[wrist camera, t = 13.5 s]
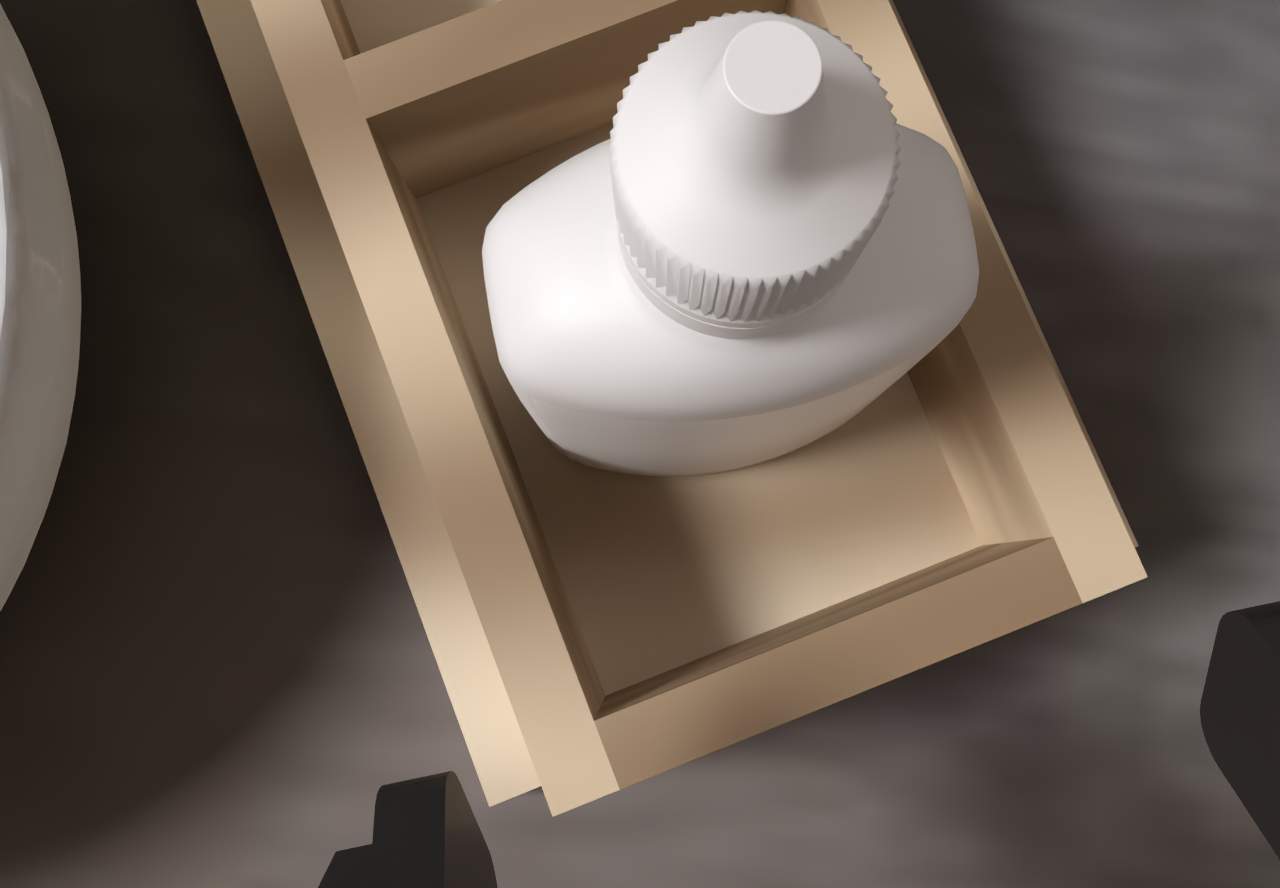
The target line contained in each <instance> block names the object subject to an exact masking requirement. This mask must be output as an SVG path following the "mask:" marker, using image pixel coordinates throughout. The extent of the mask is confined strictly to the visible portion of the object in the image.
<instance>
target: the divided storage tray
mask: <svg viewBox="0 0 1280 888" xmlns="http://www.w3.org/2000/svg"><path fill="white" fill-rule="evenodd" d="M196 1H197V4H198V6H199V9H200V12H201V15H202V17H203V20H204V23H205V26H206V28H207V31H208V34H209V37H210V39H211V42H212V45H213V48H214V50H215V53H216V56H217V59H218V61H219V64H220V67H221V70H222V72H223V75H224V78H225V81H226V83H227V86H228V89H229V92H230V94H231V97H232V100H233V103H234V105H235V108H236V111H237V114H238V116H239V119H240V122H241V125H242V127H243V130H244V133H245V136H246V138H247V141H248V144H249V147H250V149H251V152H252V155H253V158H254V160H255V163H256V166H257V169H258V171H259V174H260V177H261V180H262V182H263V185H264V188H265V191H266V193H267V196H268V199H269V202H270V204H271V207H272V210H273V213H274V215H275V218H276V221H277V224H278V226H279V229H280V232H281V235H282V237H283V240H284V243H285V246H286V248H287V251H288V254H289V257H290V259H291V262H292V265H293V268H294V270H295V273H296V276H297V279H298V281H299V284H300V287H301V290H302V292H303V295H304V298H305V301H306V303H307V306H308V309H309V312H310V314H311V317H312V320H313V323H314V325H315V328H316V331H317V334H318V336H319V339H320V342H321V345H322V347H323V350H324V353H325V356H326V358H327V361H328V364H329V367H330V369H331V372H332V375H333V378H334V380H335V383H336V386H337V389H338V391H339V394H340V397H341V400H342V402H343V405H344V408H345V411H346V413H347V416H348V419H349V422H350V424H351V427H352V430H353V433H354V435H355V438H356V441H357V444H358V446H359V449H360V452H361V455H362V458H363V460H364V463H365V466H366V469H367V471H368V474H369V477H370V480H371V482H372V485H373V488H374V491H375V493H376V496H377V499H378V502H379V504H380V507H381V510H382V513H383V515H384V518H385V521H386V524H387V526H388V529H389V532H390V535H391V537H392V540H393V543H394V546H395V548H396V551H397V554H398V557H399V559H400V562H401V565H402V568H403V570H404V573H405V576H406V579H407V581H408V584H409V587H410V590H411V592H412V595H413V598H414V601H415V603H416V606H417V609H418V612H419V614H420V617H421V620H422V623H423V625H424V628H425V631H426V634H427V636H428V639H429V642H430V645H431V647H432V650H433V653H434V656H435V658H436V661H437V664H438V667H439V669H440V672H441V675H442V678H443V680H444V683H445V686H446V689H447V691H448V694H449V697H450V700H451V702H452V705H453V708H454V711H455V713H456V716H457V719H458V722H459V724H460V727H461V730H462V733H463V735H464V738H465V741H466V744H467V746H468V749H469V752H470V755H471V757H472V760H473V763H474V766H475V768H476V771H477V774H478V777H479V779H480V782H481V785H482V788H483V790H484V793H485V796H486V799H487V801H488V804H489V807H490V806H493V805H495V804H498V803H500V802H503V801H505V800H508V799H510V798H513V797H515V796H518V795H520V794H523V793H525V792H528V791H530V790H533V789H535V788H538V787H540V786H542V789H543V792H544V795H545V797H546V800H547V803H548V805H549V808H550V811H551V814H552V816H556V815H558V814H561V813H563V812H566V811H568V810H571V809H573V808H576V807H578V806H581V805H583V804H586V803H588V802H591V801H593V800H595V799H598V798H600V797H603V796H605V795H608V794H610V793H613V792H615V791H618V790H620V789H623V788H625V787H628V786H630V785H633V784H635V783H638V782H640V781H643V780H645V779H648V778H650V777H653V776H655V775H658V774H660V773H663V772H665V771H668V770H670V769H672V768H675V767H677V766H680V765H682V764H685V763H687V762H690V761H692V760H695V759H697V758H700V757H702V756H705V755H707V754H710V753H712V752H715V751H717V750H720V749H722V748H725V747H727V746H730V745H732V744H735V743H737V742H740V741H742V740H744V739H747V738H749V737H752V736H754V735H757V734H759V733H762V732H764V731H767V730H769V729H772V728H774V727H777V726H779V725H782V724H784V723H787V722H789V721H792V720H794V719H797V718H799V717H802V716H804V715H807V714H809V713H812V712H814V711H817V710H819V709H821V708H824V707H826V706H829V705H831V704H834V703H836V702H839V701H841V700H844V699H846V698H849V697H851V696H854V695H856V694H859V693H861V692H864V691H866V690H869V689H871V688H874V687H876V686H879V685H881V684H884V683H886V682H889V681H891V680H894V679H896V678H898V677H901V676H903V675H906V674H908V673H911V672H913V671H916V670H918V669H921V668H923V667H926V666H928V665H931V664H933V663H936V662H938V661H941V660H943V659H946V658H948V657H951V656H953V655H956V654H958V653H961V652H963V651H966V650H968V649H971V648H973V647H975V646H978V645H980V644H983V643H985V642H988V641H990V640H993V639H995V638H998V637H1000V636H1003V635H1005V634H1008V633H1010V632H1013V631H1015V630H1018V629H1020V628H1023V627H1025V626H1028V625H1030V624H1033V623H1035V622H1038V621H1040V620H1043V619H1045V618H1047V617H1050V616H1052V615H1055V614H1057V613H1060V612H1062V611H1065V610H1067V609H1070V608H1072V607H1075V606H1077V605H1080V604H1082V603H1085V602H1087V601H1090V600H1092V599H1095V598H1097V597H1100V596H1102V595H1105V594H1107V593H1110V592H1112V591H1115V590H1117V589H1120V588H1122V587H1124V586H1127V585H1129V584H1132V583H1134V582H1137V581H1139V580H1142V579H1144V578H1147V577H1148V576H1147V574H1146V572H1145V570H1144V567H1143V565H1142V563H1141V561H1140V559H1139V556H1138V554H1137V552H1136V550H1135V547H1138V543H1137V541H1136V539H1135V537H1134V535H1133V532H1132V530H1131V528H1130V526H1129V524H1128V521H1127V519H1126V517H1125V515H1124V512H1123V510H1122V508H1121V506H1120V504H1119V501H1118V499H1117V497H1116V495H1115V492H1114V490H1113V488H1112V486H1111V484H1110V481H1109V479H1108V477H1107V475H1106V472H1105V470H1104V468H1103V466H1102V464H1101V461H1100V459H1099V457H1098V455H1097V452H1096V450H1095V448H1094V446H1093V444H1092V441H1091V439H1090V437H1089V435H1088V433H1087V430H1086V428H1085V426H1084V424H1083V421H1082V419H1081V417H1080V415H1079V413H1078V410H1077V408H1076V406H1075V404H1074V401H1073V399H1072V397H1071V395H1070V393H1069V390H1068V388H1067V386H1066V384H1065V381H1064V379H1063V377H1062V375H1061V373H1060V370H1059V368H1058V366H1057V364H1056V361H1055V359H1054V357H1053V355H1052V353H1051V350H1050V348H1049V346H1048V344H1047V342H1046V339H1045V337H1044V335H1043V333H1042V330H1041V328H1040V326H1039V324H1038V322H1037V319H1036V317H1035V315H1034V313H1033V310H1032V308H1031V306H1030V304H1029V302H1028V299H1027V297H1026V295H1025V293H1024V290H1023V288H1022V286H1021V284H1020V282H1019V279H1018V277H1017V275H1016V273H1015V270H1014V268H1013V266H1012V264H1011V262H1010V259H1009V257H1008V255H1007V253H1006V251H1005V248H1004V246H1003V244H1002V242H1001V239H1000V237H999V235H998V233H997V231H996V228H995V226H994V224H993V222H992V219H991V217H990V215H989V213H988V211H987V208H986V206H985V204H984V202H983V199H982V197H981V195H980V193H979V191H978V188H977V186H976V184H975V182H974V179H973V177H972V175H971V173H970V171H969V168H968V166H967V164H966V162H965V160H964V157H963V155H962V153H961V151H960V148H959V146H958V144H957V142H956V140H955V137H954V135H953V133H952V131H951V128H950V126H949V124H948V122H947V120H946V117H945V115H944V113H943V111H942V108H941V106H940V104H939V102H938V100H937V97H936V95H935V93H934V91H933V88H932V86H931V84H930V82H929V80H928V77H927V75H926V73H925V71H924V69H923V66H922V64H921V62H920V60H919V57H918V55H917V53H916V51H915V49H914V46H913V44H912V42H911V40H910V37H909V35H908V33H907V31H906V29H905V26H904V24H903V22H902V20H901V17H900V15H899V13H898V11H897V9H896V6H895V4H894V2H893V0H196ZM754 10H757V11H759V12H762V13H765V12H768V11H772V12H774V13H775V14H777V15H778V14H783V13H786V14H787V15H789V16H790V17H800V18H802V19H803V20H804V21H805V22H814V23H815V24H816V25H817V27H819V28H827V29H828V31H829V32H830V34H832V35H836V36H840V38H841V40H842V42H843V43H846V44H849V45H852V49H853V52H855V53H858V54H860V55H862V56H863V62H864V63H866V64H868V65H870V66H872V74H874V75H875V76H877V77H878V78H880V79H881V80H880V83H879V85H880V86H881V87H882V88H883V89H885V90H886V91H887V92H888V93H887V95H886V97H885V98H886V99H887V100H888V101H889V102H890V103H891V104H892V105H893V108H892V110H891V113H892V114H893V115H894V116H895V117H896V118H897V122H896V123H897V124H900V125H902V126H905V127H908V128H910V129H913V130H915V131H918V132H921V133H923V134H926V135H927V136H928V137H930V138H931V139H933V140H934V141H936V142H937V143H939V144H940V145H942V146H943V147H945V148H946V150H947V151H948V153H949V155H950V156H951V158H952V159H953V161H954V163H955V164H956V166H957V168H958V171H959V174H960V177H961V181H962V184H963V187H964V191H965V195H966V199H967V203H968V208H969V212H970V217H971V222H972V227H973V232H974V237H975V242H976V249H977V257H978V265H979V278H978V286H977V294H976V298H975V300H974V302H973V304H972V305H971V307H970V308H969V310H968V311H967V313H966V314H965V315H964V317H963V318H962V320H961V321H960V322H959V324H958V325H957V326H956V327H955V328H954V329H953V330H952V331H951V332H950V333H949V334H948V335H947V336H946V337H945V338H944V339H943V340H942V341H941V342H940V343H939V344H938V345H937V346H936V347H935V348H934V349H933V350H931V351H930V352H929V353H928V354H927V355H926V356H925V357H923V358H922V359H921V360H920V361H919V362H918V363H917V364H915V365H914V366H913V367H912V368H911V369H910V370H909V371H907V372H906V373H905V374H904V375H903V376H902V377H901V378H899V379H898V380H897V381H896V382H895V383H893V384H892V385H891V386H890V387H889V388H888V389H886V390H885V391H884V392H883V393H882V394H881V395H879V396H878V397H877V398H876V399H875V400H874V401H872V402H871V403H870V404H869V405H868V406H866V407H865V408H864V409H863V410H862V411H860V412H859V413H858V414H856V415H855V416H854V417H852V418H851V419H850V420H848V421H847V422H846V423H844V424H843V425H841V426H839V427H838V428H836V429H835V430H833V431H831V432H830V433H828V434H826V435H824V436H822V437H821V438H819V439H817V440H815V441H813V442H811V443H809V444H807V445H805V446H803V447H800V448H798V449H796V450H794V451H792V452H789V453H786V454H784V455H781V456H779V457H776V458H773V459H770V460H767V461H764V462H761V463H758V464H755V465H751V466H747V467H743V468H739V469H734V470H729V471H724V472H719V473H712V474H704V475H693V476H645V475H634V474H626V473H619V472H613V471H607V470H603V469H598V468H594V467H589V466H586V465H583V464H580V463H577V462H573V461H571V460H570V459H569V458H567V457H566V456H564V455H563V454H561V453H560V452H558V451H557V450H556V448H555V447H554V446H553V445H552V443H551V442H550V441H549V439H548V438H547V437H546V435H545V434H544V433H543V431H542V430H541V429H540V427H539V426H538V425H537V423H536V422H535V420H534V419H533V418H532V416H531V415H530V413H529V412H528V411H527V409H526V408H525V406H524V405H523V404H522V402H521V401H520V399H519V397H518V396H517V394H516V392H515V391H514V389H513V387H512V385H511V384H510V382H509V380H508V378H507V376H506V374H505V372H504V370H503V368H502V366H501V364H500V362H499V357H498V353H497V348H496V343H495V339H494V334H493V330H492V324H491V318H490V312H489V306H488V299H487V293H486V286H485V279H484V269H483V258H482V248H483V242H484V237H485V231H486V227H487V226H488V224H489V223H490V222H491V220H492V219H493V218H494V216H495V215H496V214H497V212H498V211H499V210H500V208H501V207H502V206H503V205H504V204H505V203H506V202H507V201H509V200H510V199H511V198H512V197H513V196H515V195H516V194H517V193H518V192H520V191H521V190H522V189H523V188H525V187H526V186H528V185H529V184H531V183H532V182H534V181H535V180H537V179H538V178H540V177H541V176H543V175H544V174H546V173H547V172H548V171H550V170H552V169H553V168H555V167H557V166H558V165H560V164H562V163H563V162H565V161H567V160H568V159H570V158H572V157H573V156H575V155H577V154H579V153H581V152H583V151H585V150H587V149H589V148H591V147H593V146H595V145H597V144H599V143H602V142H604V141H606V140H608V139H611V137H610V131H611V130H612V129H613V128H614V126H613V117H614V116H615V115H616V114H617V113H618V111H617V103H618V102H619V101H621V100H622V99H623V89H625V88H626V87H628V86H629V85H630V77H631V76H633V75H634V74H636V73H638V65H640V64H642V63H644V62H646V61H648V54H649V53H652V52H655V51H658V50H659V44H661V43H664V42H668V41H670V35H674V34H680V33H682V30H683V27H694V25H695V23H696V21H707V20H708V19H709V18H710V16H715V17H721V16H722V15H723V14H724V13H730V14H736V13H737V12H739V11H744V12H747V13H750V12H752V11H754Z"/></svg>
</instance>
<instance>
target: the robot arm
mask: <svg viewBox="0 0 1280 888" xmlns="http://www.w3.org/2000/svg"><path fill="white" fill-rule="evenodd" d="M1200 716H1201V723H1202V729H1203V732H1204V736H1205V739H1206V742H1207V745H1208V747H1209V750H1210V752H1211V754H1212V756H1213V758H1214V760H1215V762H1216V763H1217V765H1218V767H1219V768H1220V770H1221V771H1222V773H1223V774H1224V776H1225V777H1226V779H1227V780H1228V782H1229V783H1230V785H1231V786H1232V788H1233V789H1234V791H1235V792H1236V794H1237V795H1238V797H1239V799H1240V800H1241V802H1242V803H1243V805H1244V806H1245V808H1246V809H1247V811H1248V812H1249V814H1250V815H1251V817H1252V818H1253V820H1254V821H1255V823H1256V824H1257V826H1258V827H1259V829H1260V830H1261V832H1262V833H1263V835H1264V837H1265V838H1266V840H1267V841H1268V843H1269V844H1270V846H1271V847H1272V849H1273V850H1274V852H1275V853H1276V855H1277V856H1278V858H1279V859H1280V601H1279V602H1274V603H1269V604H1264V605H1259V606H1255V607H1250V608H1245V609H1240V610H1235V611H1231V612H1228V613H1226V614H1224V615H1223V616H1222V618H1221V620H1220V622H1219V626H1218V630H1217V634H1216V639H1215V643H1214V647H1213V652H1212V656H1211V660H1210V665H1209V669H1208V673H1207V678H1206V682H1205V686H1204V691H1203V695H1202V699H1201V705H1200ZM318 888H497V882H496V876H495V871H494V866H493V862H492V858H491V855H490V852H489V849H488V847H487V845H486V842H485V840H484V838H483V835H482V833H481V831H480V828H479V826H478V824H477V821H476V819H475V817H474V814H473V812H472V810H471V807H470V805H469V803H468V800H467V798H466V796H465V793H464V791H463V789H462V786H461V784H460V782H459V780H458V778H457V776H456V774H455V773H454V772H453V771H449V772H444V773H440V774H435V775H430V776H425V777H421V778H416V779H411V780H406V781H401V782H397V783H392V784H387V785H383V786H381V787H380V789H379V791H378V794H377V798H376V804H375V816H374V829H373V843H372V844H370V845H365V846H360V847H356V848H351V849H346V850H341V851H337V852H336V853H335V855H334V857H333V859H332V861H331V863H330V865H329V867H328V869H327V871H326V873H325V875H324V877H323V879H322V881H321V883H320V885H319V887H318Z"/></svg>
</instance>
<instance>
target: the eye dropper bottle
mask: <svg viewBox="0 0 1280 888" xmlns="http://www.w3.org/2000/svg"><path fill="white" fill-rule="evenodd" d="M880 80H881V79H880V78H878V77H877V76H875V75H874V74H872V66H870V65H868V64H866V63H864V62H863V56H862V55H860V54H858V53H855V52H853V49H852V45H849V44H846V43H843V42H842V40H841V38H840V36H836V35H832V34H830V32H829V31H828V29H827V28H819V27H817V25H816V24H815V23H814V22H805V21H804V20H803V19H802V18H800V17H790V16H789V15H787V14H786V13H783V14H778V15H777V14H775V13H774V12H772V11H768V12H765V13H762V12H759V11H757V10H754V11H752V12H750V13H747V12H744V11H739V12H737V13H736V14H730V13H724V14H723V15H722V16H721V17H715V16H710V18H709V19H708V20H707V21H696V23H695V25H694V27H683V30H682V33H680V34H674V35H670V41H668V42H664V43H661V44H659V50H658V51H655V52H652V53H649V54H648V61H646V62H644V63H642V64H640V65H638V73H636V74H634V75H633V76H631V77H630V85H629V86H628V87H626V88H625V89H623V99H622V100H621V101H619V102H618V103H617V111H618V113H617V114H616V115H615V116H614V117H613V126H614V128H613V129H612V130H611V131H610V137H611V139H608V140H606V141H604V142H602V143H599V144H597V145H595V146H593V147H591V148H589V149H587V150H585V151H583V152H581V153H579V154H577V155H575V156H573V157H572V158H570V159H568V160H567V161H565V162H563V163H562V164H560V165H558V166H557V167H555V168H553V169H552V170H550V171H548V172H547V173H546V174H544V175H543V176H541V177H540V178H538V179H537V180H535V181H534V182H532V183H531V184H529V185H528V186H526V187H525V188H523V189H522V190H521V191H520V192H518V193H517V194H516V195H515V196H513V197H512V198H511V199H510V200H509V201H507V202H506V203H505V204H504V205H503V206H502V207H501V208H500V210H499V211H498V212H497V214H496V215H495V216H494V218H493V219H492V220H491V222H490V223H489V224H488V226H487V227H486V231H485V237H484V242H483V248H482V258H483V269H484V279H485V286H486V293H487V299H488V306H489V312H490V318H491V324H492V330H493V334H494V339H495V343H496V348H497V353H498V357H499V362H500V364H501V366H502V368H503V370H504V372H505V374H506V376H507V378H508V380H509V382H510V384H511V385H512V387H513V389H514V391H515V392H516V394H517V396H518V397H519V399H520V401H521V402H522V404H523V405H524V406H525V408H526V409H527V411H528V412H529V413H530V415H531V416H532V418H533V419H534V420H535V422H536V423H537V425H538V426H539V427H540V429H541V430H542V431H543V433H544V434H545V435H546V437H547V438H548V439H549V441H550V442H551V443H552V445H553V446H554V447H555V448H556V450H557V451H558V452H560V453H561V454H563V455H564V456H566V457H567V458H569V459H570V460H571V461H573V462H577V463H580V464H583V465H586V466H589V467H594V468H598V469H603V470H607V471H613V472H619V473H626V474H634V475H645V476H693V475H704V474H712V473H719V472H724V471H729V470H734V469H739V468H743V467H747V466H751V465H755V464H758V463H761V462H764V461H767V460H770V459H773V458H776V457H779V456H781V455H784V454H786V453H789V452H792V451H794V450H796V449H798V448H800V447H803V446H805V445H807V444H809V443H811V442H813V441H815V440H817V439H819V438H821V437H822V436H824V435H826V434H828V433H830V432H831V431H833V430H835V429H836V428H838V427H839V426H841V425H843V424H844V423H846V422H847V421H848V420H850V419H851V418H852V417H854V416H855V415H856V414H858V413H859V412H860V411H862V410H863V409H864V408H865V407H866V406H868V405H869V404H870V403H871V402H872V401H874V400H875V399H876V398H877V397H878V396H879V395H881V394H882V393H883V392H884V391H885V390H886V389H888V388H889V387H890V386H891V385H892V384H893V383H895V382H896V381H897V380H898V379H899V378H901V377H902V376H903V375H904V374H905V373H906V372H907V371H909V370H910V369H911V368H912V367H913V366H914V365H915V364H917V363H918V362H919V361H920V360H921V359H922V358H923V357H925V356H926V355H927V354H928V353H929V352H930V351H931V350H933V349H934V348H935V347H936V346H937V345H938V344H939V343H940V342H941V341H942V340H943V339H944V338H945V337H946V336H947V335H948V334H949V333H950V332H951V331H952V330H953V329H954V328H955V327H956V326H957V325H958V324H959V322H960V321H961V320H962V318H963V317H964V315H965V314H966V313H967V311H968V310H969V308H970V307H971V305H972V304H973V302H974V300H975V298H976V294H977V286H978V278H979V265H978V257H977V249H976V242H975V237H974V232H973V227H972V222H971V217H970V212H969V208H968V203H967V199H966V195H965V191H964V187H963V184H962V181H961V177H960V174H959V171H958V168H957V166H956V164H955V163H954V161H953V159H952V158H951V156H950V155H949V153H948V151H947V150H946V148H945V147H943V146H942V145H940V144H939V143H937V142H936V141H934V140H933V139H931V138H930V137H928V136H927V135H926V134H923V133H921V132H918V131H915V130H913V129H910V128H908V127H905V126H902V125H900V124H897V123H896V122H897V118H896V117H895V116H894V115H893V114H892V113H891V110H892V108H893V105H892V104H891V103H890V102H889V101H888V100H887V99H886V98H885V97H886V95H887V93H888V92H887V91H886V90H885V89H883V88H882V87H881V86H880V85H879V83H880Z"/></svg>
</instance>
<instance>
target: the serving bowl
mask: <svg viewBox="0 0 1280 888" xmlns="http://www.w3.org/2000/svg"><path fill="white" fill-rule="evenodd" d="M80 331H81V278H80V265H79V253H78V241H77V233H76V227H75V221H74V215H73V209H72V203H71V198H70V192H69V188H68V183H67V178H66V174H65V169H64V164H63V160H62V156H61V153H60V150H59V146H58V143H57V140H56V136H55V133H54V130H53V126H52V123H51V120H50V116H49V113H48V110H47V108H46V105H45V102H44V99H43V97H42V94H41V91H40V88H39V86H38V83H37V81H36V78H35V76H34V73H33V71H32V68H31V66H30V63H29V61H28V59H27V56H26V54H25V51H24V49H23V47H22V45H21V43H20V41H19V39H18V37H17V35H16V33H15V31H14V29H13V27H12V25H11V23H10V21H9V19H8V17H7V16H6V14H5V12H4V10H3V8H2V6H1V4H0V611H1V609H2V608H3V606H4V604H5V602H6V601H7V599H8V597H9V595H10V593H11V591H12V589H13V587H14V585H15V583H16V581H17V579H18V577H19V575H20V573H21V571H22V569H23V567H24V565H25V563H26V560H27V558H28V555H29V553H30V550H31V548H32V545H33V543H34V540H35V538H36V535H37V533H38V530H39V528H40V525H41V523H42V520H43V518H44V515H45V512H46V509H47V507H48V504H49V501H50V498H51V495H52V492H53V488H54V485H55V481H56V478H57V475H58V471H59V468H60V464H61V461H62V457H63V454H64V450H65V447H66V443H67V438H68V432H69V427H70V421H71V415H72V410H73V404H74V399H75V391H76V383H77V375H78V366H79V351H80Z"/></svg>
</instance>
